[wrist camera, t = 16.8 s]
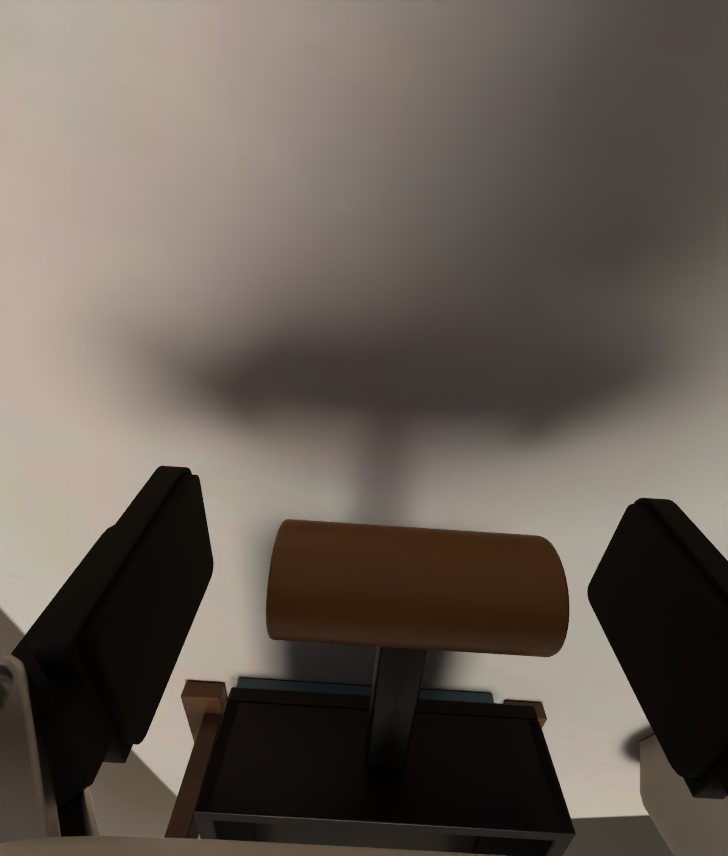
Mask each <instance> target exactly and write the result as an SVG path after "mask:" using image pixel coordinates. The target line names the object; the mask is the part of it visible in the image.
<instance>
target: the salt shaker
mask: <svg viewBox="0 0 728 856" xmlns="http://www.w3.org/2000/svg"><path fill="white" fill-rule="evenodd" d="M639 746H640V794H641V798H642V801H643V805H644V807H645V808H646V810H647V812H648V813H649V815H650V817H651V818H652V820H653V822H654V823H655V825H656V827H657V828H658V830H659V832H660V833H661V835H662V837H663V839H664V840H665V842H666V843H667V845H668V847H669V849H670V850H671V852H672V854H673V855H674V856H728V796H727V797H725V798H724V799H708V798H693V797H692V795H691V793H690V791H689V789H688V787H687V785H686V783H685V781H684V779H683V777H681V776H679V775H678V774H677V773H676V772H675V771H674V770H673V769H672V767H671V765H670V764H669V762H668V760H667V758H666V756H665V754H664V752H663V750H662V748H661V746H660V744H659V742H658V739H657V737H656V735H655V734H654V735H652V736H650V737H648V738H646V739H645V740H643V741H641V742H639Z"/></svg>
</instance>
